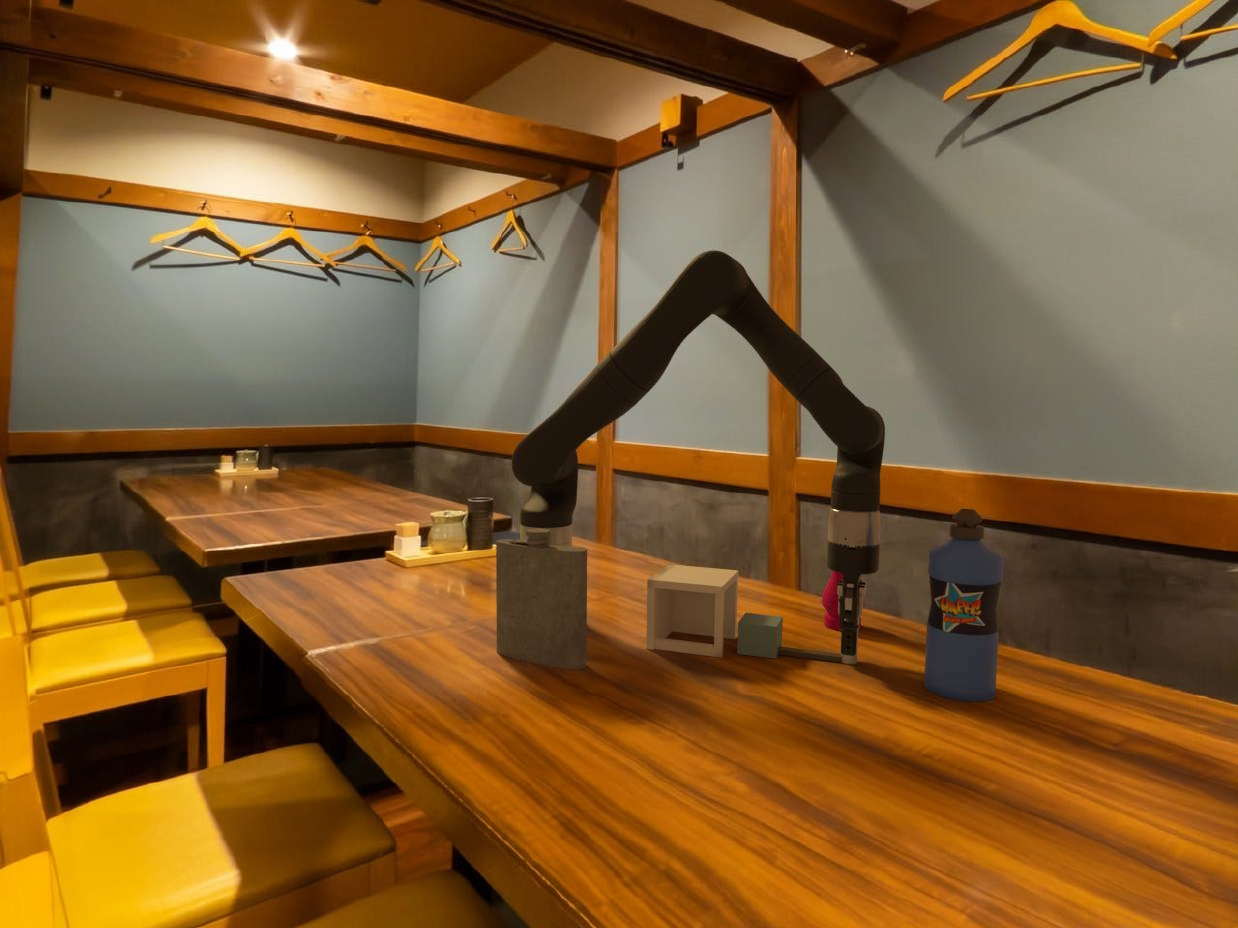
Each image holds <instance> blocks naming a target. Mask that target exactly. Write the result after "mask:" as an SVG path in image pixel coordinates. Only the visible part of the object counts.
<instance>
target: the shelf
mask: <svg viewBox="0 0 1238 928" xmlns="http://www.w3.org/2000/svg"><path fill="white" fill-rule="evenodd" d="M646 581H647V583H646V584H647V585H646V591H647V592H646V593H647V594H646V643H645V644H646V650H651V651H652V650H653V651H654V650H658V651H659V650H660V651H661V650H662V651H668V652H675V653H676V652H677V653H684V654H691V655H698V656H706V657H707V656H708V657H714V658H723V656H724V643H725V641H724V639H731V640H736V638H737V634H738V621H737V620H738V591H739V590H738V589H739V588H738V585H739V583H738V581H739V570H735V569H726V568H725V569H724V568H723V569H722V568H715V567H705V566H704V567H703V566H690V565H679V564H678V565H677V564H668V565H666V566H665V567H663V568H662V569H660V570H659V571H658V572H656V573H655V574H653V575H652V576H651V577H649V578H647V580H646ZM672 633H681V634H688V635H689V634H690V635H697V636H705V637H713V643H714V644H712V643H704V642H703V643H702V642H698V641H697V642H695V641H688V640H680V639H671V638H668V637H669V635H671V634H672Z"/></svg>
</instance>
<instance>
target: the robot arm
mask: <svg viewBox="0 0 1238 928" xmlns="http://www.w3.org/2000/svg"><path fill="white" fill-rule="evenodd" d="M748 274H749V273H748V272H747V270H746V268H745V267H744V266H743V265H742V263H740V262H739V261H738V260H736V259H735V258H734V257H732V256H731V255H729V254H727V253H726V252H724V251H720V250H713V249H712V250H708V251H703V252H701V253H699V254H698V255H696V256H695V257H693V258H692V259H691V260H690V261H689V262H688V263H687V264H686V266H684V268H682V270H681V272H680V273H679V274H678V275H677V277H676V278H675V280H674V281H673V283H671V285H670V286H669V287H668V289H667V290H666V291H665V293H664V294H662V297H661V298H660V299H659V300H658V301H657V303H656V304H655V305H654V306H653V308H651V309H650V310H649V312H648V313H647V314H646V315H645V316H643V318H641V320H639V321H638V323H636V325H634V327H633V328H631V330H630V331H629V332H627V334H626V335H625V336H624V337H623V338H622V339H621V340H620V341H619V342H618V343H617V344H616V345H615V346H614V347H613V348H612V349H610V350H609V351H608V353H607V354H606V355H605V356H604V357H603V358H602V359H601V360H600V362H598V363H597V364H596V366H594V368H593V369H592V370H591V372H589V374H588V375H587V376H586V377H585V378H584V379H583V380H582V381H581V382H580V383H579V385H578V386H577V387H576V388H575V389H574V390H573V391H572V392H571V393H570V394H569V396H567V398H566V399H565V400H564V401H563V402H562V404H560V406H559V407H558V408H557V409H556V410H555V411H554V412H552V413H551V414H550V415H549V416H548V417H547V418H546V419H545V420H544V421H542V422H541V423H540V424H539V425H537V426H536V427H535V428H534V429H533V430H531V431H530V432H529V433H528V434H526V435H525V436H524V437H523V438H522V439H521V440H520V441H519V442H518V444H517V445H515V446H516V447H515V448H514V451H513V453H512V456H511V457H512V458H511V470H512V473H513V475H514V477H515V479H516V480H517V481H518V482H519V483H521V484H522V485H523V486H527V487H530V494H529V497H528V499H527V500H526V503H525V504H524V505H523V506H522V508H521V509H520V514H519V515H520V516H519V517H520V518H519V519H520V525H519V527H520V528H519V530H520V531H519V532H520V533H519V535H520V537H519V538H520V539H521V540H527V539H529V537H528V536H526V530H528V529H535V528H542V529H549V530H550V536H547V538H549V539H548V541H549V543H548V545H555V546H566V547H573V514H574V512H575V509H576V506H577V500H578V483H579V481H578V480H579V479H578V478H579V460H578V459H579V458H578V452H577V449H578V448H580V447H581V445H582V444H583V443H584V442H585V441H586V440H588V439H589V438H590V437H592V436H593V435H595V434H596V433H598V432H599V431H600V430H603V429H604V428H606V427H607V426H608V425H611V424H612V423H613V422H615V421H616V420H618V419H619V418H621V417H622V416H624V415H625V414H626V413H628V412H629V411H630V410H631V409H632V408H634V407H635V406H636V405H637V404H638V403H639V402H640V401H641V400H642V399H644V397H645V396H646V395H647V394H648V393H649V392H650V391H651V390H652V389H653V388H654V387H655V386H656V384H657V383H658V382H659V381H660V380H661V377H662V376H663V375H664V374H665V372H666V370H667V368H668V366H669V365H670V364H671V361H672V359H673V357H674V355H675V354H676V352H677V350H678V349H679V347H680V346H681V344H683V342H684V341H685V339H686V338H687V337H688V336H689V335H690V334H691V333H692V332H693V331H694V330H695V329H697V328H698V327H699V326H700V325H701V324H703V322H704V321H706V319H708V318H709V317H711V316H712V315H714V316H716V317H718V318H719V319H720V320H721V321H723V322H725V323H726V324H727V325H728V326H730V327H731V328H732V329H734V331H736V332H737V333H738V334H739V335H741V336H742V338H743V339H744V340H746V342H748V344H749V345H750V346H751V347H752V348H753V350H754V351H755V352H756V353H757V355H758V356H759V357H760V358H761V359H760V360H762V361H763V363H764V364H765V366H766V367H767V368H768V370H769V371H770V373H771V374H772V375H773V377H775V378H776V380H777V381H778V382H779V383H780V384H781V385H782V386H783V388H785V389H786V391H788V393H789V394H790V395H791V396H792V397H793V398H794V399H795V400H796V401H797V402H798V403H799V404H800V405H801V406H802V407H804V409H806V410H807V411H808V412H809V414H810V415H811V417H812V418H813V420H814V421H815V422H816V423H817V425H818V426H819V428H820V429H821V430H822V431H823V433H825V435H826V437H828V439H829V440H830V441H832V444H834V445H835V446H836V447H837V451H836V453H837V455H836V469H835V471H834V473H833V475H832V479H831V488H830V489H831V491H830V492H831V493H830V512H829V516H828V517H829V518H828V524H827V536H828V538H827V550H826V567H827V568H828V569H829V570H831V572H832V571H835V572H841V573H842V574H843V580H841V579H839V583H838V585H837V594H838V596H839V599H838V613H839V614H840V623H839V627H840V629H841V630H842V631H841V636H840V638H841V639H840V654H841V653H842V654H843V655H850V656H854V655H856V647H857V632H858V633H859V631H860V629H859V626H858V617H859V622H860V617H861V616H862V614H863V610H864V608H863V604H865V594H866V591H867V590H866V589H867V581H863V579H862V575H865V576H868V575H874V574H876V573H877V572H878V571H879V570H880V569H879V568H880V550H881V547H880V546H881V532H882V531H881V529H882V528H881V525H882V524H881V514H880V513H881V512H880V508H881V507H880V505H881V470H882V464H883V457H884V450H885V440H886V438H885V437H886V425H885V421H884V418H883V417H882V415H881V414H880V413H879V412H878V411H877V410H876V409H875V408H873V407H870V406H867V405H865V403H863V401H861V400H860V399H859V398H858V397H857V396H856V395H855V394H854V393H853V392H852V391H851V390H850V389H849V388H848V387H847V386H846V385H845V384H844V382H843V379H842V378H841V377H840V375H839V373H837V371H836V370H834V368H833V367H832V366H831V365H830V364H829V363H828V362H827V361H826V360H825V359H824V358H823V357H822V356H821V355H820V354H819V353H818V352H817V351H816V350H815V349H814V348H813V347H812V346H811V345H810V344H809V343H808V342H807V341H806V340H805V339H803V338H802V337H801V336H800V335H799V334H798V333H796V332H795V330H794V329H793V328H791V327H790V326H789V324H787V323H786V322H785V321H784V320H783V319H782V318H781V317H780V316H779V314H777V313H776V311H775V310H774V309H773V308H772V306H771V305H770V304H769V303H768V302H767V300H766V299H765V298H764V296H763V295H762V293H761V292H760V290H759V289H758V288H757V286H756V285H755V283H754V282H753V280H752V279H751V277H750V276H749V275H748ZM845 619H852V620H854V622H848V621H845Z"/></svg>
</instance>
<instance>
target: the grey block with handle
mask: <svg viewBox="0 0 1238 928" xmlns="http://www.w3.org/2000/svg"><path fill="white" fill-rule="evenodd" d="M783 618H784V616H781V615H780V616H779V615H772V614H771V615H770V614H761V613H755V612H754V613H753V612H745V613H744V614H743V615H742V616H741V618H740V619H739V620H738V621H737V644H736V647H737V648H736V649H737V651H736V654H737V655H743V656H744V655H745V656H749V657H750V656H753V657H760V658H766V659H767V658H768V659H774V660H775V659H778V658H777V657H778V656H779V655H781V656H789V657H796V658H802V659H803V658H804V659H812V660H819V661H829V662H835V663H842V664H845V665H856V664H857V663H858V647H859V645H858V644H859V631H858V632H857V647H856V655H854V656H850V655H843V654H842V653H841V652H840V653H836V652H828V651H821V650H813V649H804V648H795V647H789V646H788V647H787V646H783V629H784V628H783V623H784V621H783V620H784V619H783ZM845 621H848V622H854V620H852V619H845ZM858 625H859V617H858Z"/></svg>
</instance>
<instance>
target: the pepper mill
mask: <svg viewBox="0 0 1238 928" xmlns="http://www.w3.org/2000/svg"><path fill="white" fill-rule="evenodd" d="M826 537H827V539H828V535H827V536H826ZM839 579H841V580H843V574H842V573H841V572H835V571H832V570H831V575H830V577H829V580H828V582H827V584H826V586H825V588H824V590H823V592H822V597H821V604H822V607H824V609H825V611H826V613H825V614H823V625H824V626H825V627H827V629H831V630H834V631H835V630H836V631H841V632H842V630H841V629H840V627H839V623H840V614H839V613H838V599H839V596H838V594H837V585H838V583H839ZM864 608H865V603H864V604H863V609H864ZM861 625H862V618H861V616H860V622H859V625H858V626H859V630H860V629H861V627H862V626H861Z"/></svg>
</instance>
